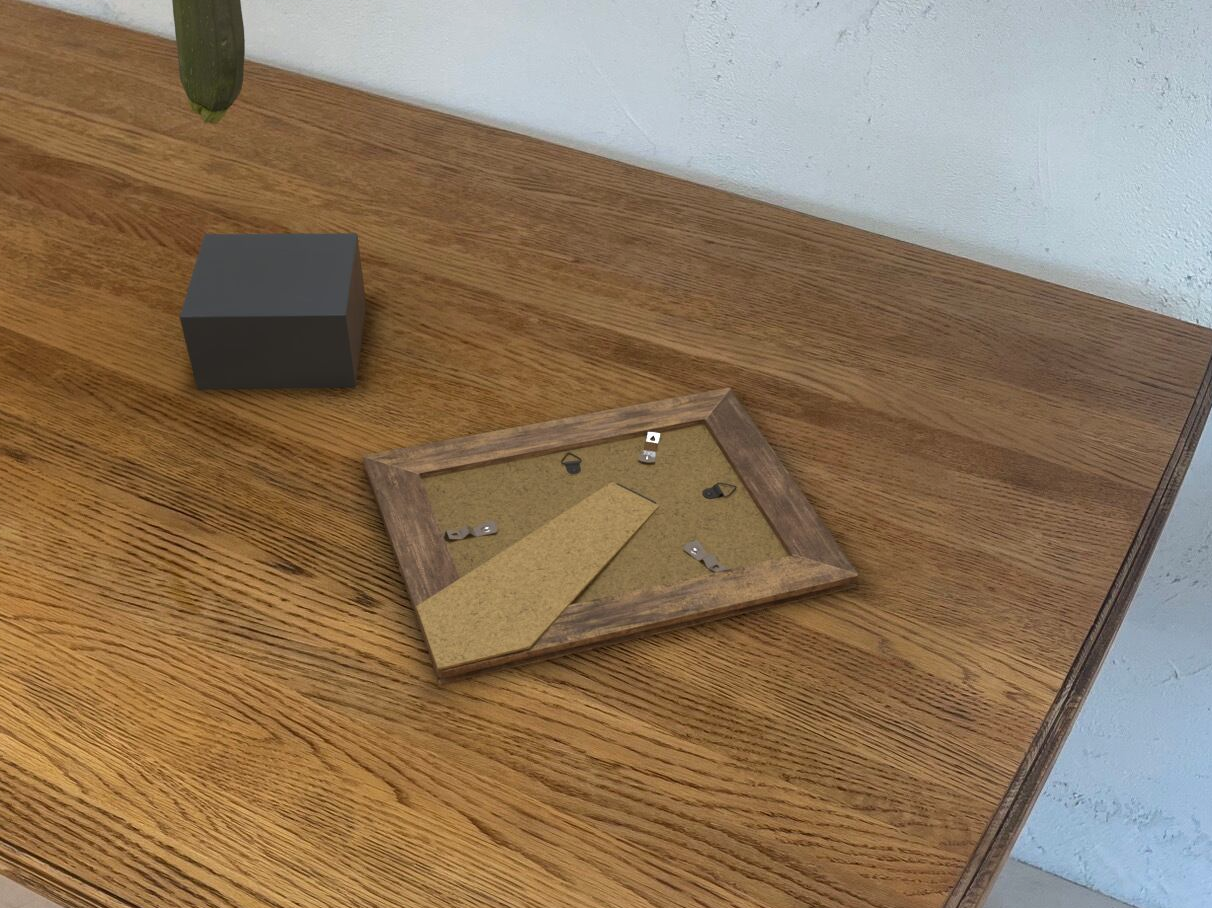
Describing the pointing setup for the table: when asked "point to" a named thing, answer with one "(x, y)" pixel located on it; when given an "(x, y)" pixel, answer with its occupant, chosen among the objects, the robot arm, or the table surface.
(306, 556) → the table surface
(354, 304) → the block
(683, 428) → the picture frame
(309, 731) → the table surface
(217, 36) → the vegetable
